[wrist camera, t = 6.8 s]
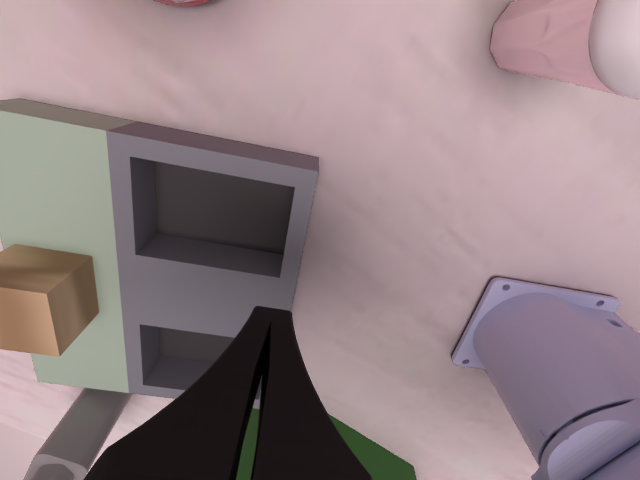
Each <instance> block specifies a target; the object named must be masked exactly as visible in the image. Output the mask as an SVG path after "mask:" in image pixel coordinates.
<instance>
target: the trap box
mask: <svg viewBox="0 0 640 480" xmlns="http://www.w3.org/2000/svg"><path fill="white" fill-rule="evenodd" d="M318 173H319V157H314V156H309V155H304V154H299V153H294V152H289V151H284V150H279V149H274V148H269V147H264V146H258V145H253V144H248V143H243V142H238V141H233V140H228V139H223V138H218V137H213V136H208V135H202V134H197V133H192V132H187V131H182V130H177V129H172V128H167V127H162V126H157V125H152V124H147V123H141V122H136V121H131V120H126V119H121V118H116V117H111V116H106V115H101V114H96V113H91V112H85V111H80V110H75V109H70V108H65V107H60V106H55V105H50V104H45V103H40V102H35V101H29V100H24V99H19V98H18V99H8V100H0V238H1V242H2V246H3V250H5V249H6V248H8V247H10V246H12V245H13V244H20V245H26V246H32V247H39V248H45V249H51V250H58V251H64V252H70V253H77V254H83V255H89V256H92V258H93V266H94V274H95V282H96V290H97V298H98V306H99V313H98V315H97V316H96V317H95V318H94V319H93V320H92V321H91V322H90V324H89V325H88V326H87V327H86V328H85V329H84V330H83V331H82V333H81V334H80V335H79V336H78V337H77V338H76V339H75V340H74V341H73V343H72V344H71V345H70V346H69V347H68V348H67V349H66V350H65V352H64V353H63V354H62V355H61V356H60V357H57V356H49V355H42V354H34V353H31V357H32V361H33V365H34V368H35V372H36V376H37V380H38V382H43V383H51V384H59V385H68V386H76V387H84V388H92V389H100V390H108V391H116V392H124V393H133V394H141V395H149V396H157V397H165V398H173V399H176V398H177V397H179V396H180V395H181V394H182V393H183V392H184V391H185V390H187V389H188V388H189V387H190V386H191V385H192V384H193V383H194V382H195V381H196V380H198V379H199V378H200V377H201V376H202V375H203V374H204V373H205V372H206V371H207V370H208V369H209V368H210V367H211V365H212V364H213V363H214V362H215V361H216V360H217V359H218V358H219V357H220V355H221V354H222V353H223V352H224V351H225V350H226V348H227V347H228V346H229V345H230V344H231V342H232V341H233V340H234V338H235V337H236V336H237V334H238V333H239V332H240V330H241V329H242V327H243V326H244V324H245V323H246V321H247V320H248V318H249V316H250V315H251V313H252V311H253V309H254V307H256V306H263V307H269V308H276V309H282V310H289V311H290V312H291V308H292V303H293V298H294V293H295V288H296V283H297V278H298V273H299V268H300V263H301V258H302V253H303V248H304V243H305V238H306V233H307V228H308V223H309V218H310V213H311V208H312V203H313V198H314V193H315V188H316V183H317V178H318ZM261 382H262V376H261V380H260V384H259V387H258V391H257V394H256V398H255V401H254V405H253V408H255V409H259V406H260V394H261Z"/></svg>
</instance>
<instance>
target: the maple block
mask: <svg viewBox="0 0 640 480" xmlns="http://www.w3.org/2000/svg"><path fill="white" fill-rule="evenodd" d="M98 313H99V306H98V298H97V290H96V282H95V274H94V266H93V258H92V256H89V255H83V254H77V253H70V252H64V251H58V250H51V249H45V248H39V247H32V246H26V245H20V244H13V245H12V246H10V247H8V248H6V249H5V250H3V251H1V252H0V349H3V350H11V351H19V352H26V353H34V354H42V355H49V356H57V357H60V356H61V355H62V354H63V353H64V352H65V350H66V349H67V348H68V347H69V346H70V345H71V344H72V343H73V341H74V340H75V339H76V338H77V337H78V336H79V335H80V334H81V333H82V331H83V330H84V329H85V328H86V327H87V326H88V325H89V324H90V322H91V321H92V320H93V319H94V318H95V317H96V316H97V315H98Z"/></svg>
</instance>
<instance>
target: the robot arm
mask: <svg viewBox="0 0 640 480" xmlns="http://www.w3.org/2000/svg"><path fill="white" fill-rule="evenodd" d="M506 284H507V285H506ZM504 285H506V286H505V287H503V286H504ZM619 306H620V301H619V300H618V299H617V298H615V297H612V296H606V295H600V294H594V293H588V292H583V291H577V290H571V289H565V288H559V287H553V286H547V285H542V284H536V283H530V282H524V281H518V280H512V279H507V278H501V277H497V278H494V279H492V280H491V281H490V283H489V285H488V287H487V289H486V291H485V293H484V295H483V297H482V298H481V300H480V302H479V304H478V306H477V308H476V310H475V312H474V314H473V316H472V318H471V320H470V322H469V324H468V326H467V328H466V330H465V332H464V334H463V336H462V338H461V340H460V342H459V343H458V345H457V347H456V349H455V351H454V353H453V355H452V358H451V359H452V362H453V363H454V364H455V365H459V366H466V367H473V368H480V369H485V370H486V372H487V374H488V376H489V377H490V379H491V381H492V383H493V385H494V386H495V388H496V390H497V392H498V394H499V395H500V397H501V399H502V401H503V403H504V404H505V406H506V408H507V410H508V411H509V413H510V415H511V417H512V419H513V420H514V422H515V424H516V426H517V428H518V429H519V431H520V433H521V435H522V437H523V438H524V440H525V442H526V444H527V446H528V447H529V449H530V451H531V453H532V455H533V456H534V458H535V460H536V462H537V464H538V465H539V469H538V470H537V471H536V472H535V473H534V474H533V475H532V476H531V478H532V480H640V334H639V333H638V332H636V331H635V330H634V329H633V328H632V327H630V326H629V325H628V324H627V323H626V322H624V321H623V320H622V319H621V318H620V317H618V316H617V315H616V314H615V311H616V310H617V309H618V307H619ZM465 359H466V360H465ZM261 376H262V382H261V394H260V406H259V418H258V430H257V440H256V448H255V454H254V460H253V466H252V472H251V478H250V480H373V479H372V476H371V475H370V474H369V473H368V471H367V470H366V469H365V467H364V466H363V465H362V464H361V462H360V461H359V460H358V458H357V457H356V456H355V454H354V453H353V452H352V450H351V449H350V448H349V446H348V445H347V443H346V442H345V440H344V439H343V437H342V436H341V434H340V433H339V431H338V430H337V428H336V426H335V425H334V423H333V421H332V420H331V418H330V417H329V415H328V413H327V412H326V410H325V408H324V406H323V404H322V402H321V400H320V399H319V397H318V395H317V393H316V390H315V388H314V386H313V384H312V382H311V380H310V377H309V375H308V372H307V370H306V367H305V365H304V362H303V359H302V356H301V353H300V350H299V346H298V343H297V340H296V336H295V331H294V326H293V320H292V313H291V312H290V311H289V310H282V309H276V308H269V307H263V306H256V307H254V309H253V311H252V313H251V315H250V316H249V318H248V320H247V321H246V323H245V324H244V326H243V327H242V329H241V330H240V332H239V333H238V334H237V336H236V337H235V338H234V340H233V341H232V342H231V344H230V345H229V346H228V347H227V348H226V350H225V351H224V352H223V353H222V354H221V355H220V357H219V358H218V359H217V360H216V361H215V362H214V363H213V364H212V365H211V367H210V368H209V369H208V370H207V371H206V372H205V373H204V374H203V375H202V376H201V377H200V378H199V379H198V380H196V381H195V382H194V383H193V384H192V385H191V386H190V387H189V388H188V389H187V390H185V391H184V392H183V393H182V394H181V395H180V396H179V397H177V398H176V399H175V400H174V401H173V402H171V403H170V404H169V405H167V406H166V407H165V408H164V409H162V410H161V411H160V412H158V413H157V414H156V415H154V416H153V417H152V418H150V419H149V420H148V421H146V422H145V423H144V424H142V425H141V426H139V427H138V428H136V429H135V430H133V431H132V432H130V433H129V434H127V435H126V436H124V437H123V438H121V439H120V440H118V441H117V442H115V443H114V444H112V445H111V446H109V447H108V448H107V449H106V450H105V451H104V452H103V454H102V455H101V456H100V457H99V459H98V460H97V461H96V463H95V464H94V465H93V467H92V468H91V469H90V471H89V472H88V474H87V475H86V477H85V478H84V479H83V480H236V477H237V472H238V467H239V462H240V457H241V451H242V446H243V442H244V438H245V434H246V430H247V426H248V423H249V419H250V416H251V412H252V409H253V405H254V401H255V398H256V394H257V391H258V387H259V384H260V380H261Z"/></svg>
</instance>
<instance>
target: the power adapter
mask: <svg viewBox="0 0 640 480" xmlns="http://www.w3.org/2000/svg"><path fill="white" fill-rule="evenodd" d="M131 395H132V393H124V392H116V391H108V390H100V389H92V388H84V389H83V391H82V392H81V394H80V395H79V396H78V398H77V399H76V400H75V402H74V403H73V405H72V406H71V407H70V409H69V410H68V411H67V413H66V414H65V415H64V417H63V418H62V420H61V421H60V422H59V424H58V425H57V426H56V428H55V429H54V431H53V432H52V433H51V435H50V436H49V437H48V439H47V440H46V442H45V443H44V444H43V446H42V447H41V449H40V450H39V451H38V452H37V454H36V455H35V457H34V458H33V460H32V462H31V464H30V467H29V469H28V471H27V473H26V475H25V477H24V479H23V480H83V479H84V477H85V476H86V474H87V472H88V471H89V469H90V467H91V465H92V464H93V462H94V460H95V458H96V456H97V455H98V453H99V451H100V449H101V448H102V446H103V444H104V442H105V441H106V439H107V437H108V435H109V434H110V432H111V430H112V428H113V427H114V425H115V423H116V421H117V420H118V418H119V416H120V414H121V413H122V411H123V409H124V407H125V406H126V404H127V402H128V400H129V399H130V397H131Z"/></svg>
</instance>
